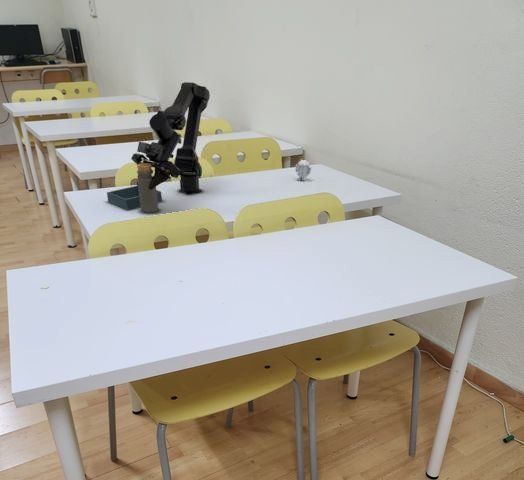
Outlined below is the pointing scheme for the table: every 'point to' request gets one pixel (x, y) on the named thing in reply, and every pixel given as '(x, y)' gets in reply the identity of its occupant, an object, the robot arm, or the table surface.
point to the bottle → (146, 188)
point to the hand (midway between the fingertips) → (143, 187)
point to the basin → (120, 197)
